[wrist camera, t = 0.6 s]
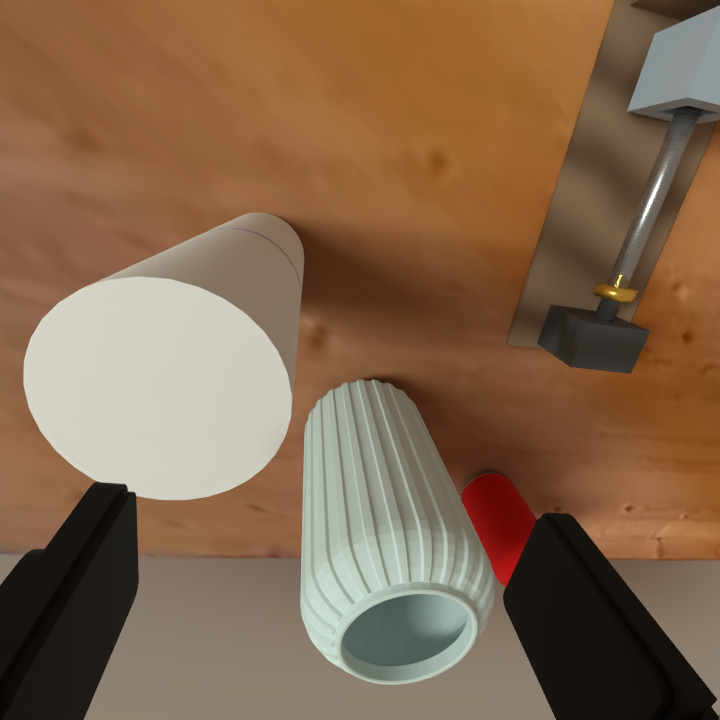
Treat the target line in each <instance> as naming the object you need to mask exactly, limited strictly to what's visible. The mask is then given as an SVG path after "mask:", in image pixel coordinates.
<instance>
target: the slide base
mask: <svg viewBox="0 0 720 720" xmlns="http://www.w3.org/2000/svg"><path fill="white" fill-rule="evenodd" d="M719 1H720V0H615V2H614V5H613V8H612V11H611V15H610V18H609V21H608V24H607V27H606V30H605V33H604V37H603V40H602V43H601V46H600V49H599V52H598V55H597V59H596V62H595V65H594V68H593V71H592V74H591V77H590V81H589V84H588V87H587V90H586V93H585V96H584V99H583V103H582V106H581V109H580V112H579V115H578V118H577V121H576V125H575V128H574V131H573V134H572V137H571V140H570V143H569V147H568V150H567V153H566V156H565V159H564V162H563V165H562V169H561V172H560V175H559V178H558V181H557V184H556V187H555V191H554V194H553V197H552V200H551V203H550V206H549V209H548V213H547V216H546V219H545V222H544V225H543V228H542V231H541V235H540V238H539V241H538V244H537V247H536V250H535V253H534V257H533V260H532V263H531V266H530V269H529V272H528V275H527V278H526V282H525V285H524V288H523V291H522V294H521V297H520V300H519V304H518V307H517V310H516V313H515V316H514V319H513V322H512V326H511V329H510V332H509V335H508V338H507V341H506V344H507V345H513V346H522V347H530V348H538V349H546V350H547V351H548V352H550V353H551V354H553V355H554V356H556V357H557V358H558V359H560V360H561V361H563V362H564V363H566V364H567V365H568V366H570V367H577V368H586V369H594V370H603V371H612V372H621V373H630V374H631V372H632V370H633V368H634V365H635V363H636V361H637V359H638V357H639V354H640V352H641V350H642V348H643V346H644V344H645V341H646V339H647V337H648V335H649V333H650V331H648V330H646V329H644V328H641V327H639V326H637V325H635V324H632V323H630V322H631V320H632V317H633V315H634V313H635V310H636V308H637V306H638V303H639V301H640V299H641V297H642V294H643V292H644V290H645V287H646V285H647V283H648V280H649V278H650V276H651V273H652V271H653V269H654V267H655V264H656V262H657V260H658V257H659V255H660V253H661V250H662V248H663V246H664V244H665V241H666V239H667V237H668V234H669V232H670V230H671V227H672V225H673V223H674V220H675V218H676V216H677V214H678V211H679V209H680V207H681V204H682V202H683V200H684V197H685V195H686V193H687V191H688V188H689V186H690V184H691V181H692V179H693V177H694V174H695V172H696V170H697V167H698V165H699V163H700V161H701V158H702V156H703V154H704V151H705V149H706V147H707V144H708V142H709V140H710V138H711V135H712V133H713V131H714V128H715V126H716V124H717V121H712V122H706V123H700V124H696V126H695V128H694V131H693V133H692V136H691V138H690V140H689V143H688V145H687V148H686V150H685V152H684V155H683V157H682V160H681V162H680V164H679V167H678V169H677V172H676V174H675V176H674V179H673V181H672V184H671V186H670V188H669V191H668V193H667V196H666V198H665V200H664V203H663V205H662V207H661V210H660V212H659V215H658V217H657V219H656V222H655V224H654V227H653V229H652V231H651V234H650V236H649V239H648V241H647V243H646V246H645V248H644V251H643V253H642V255H641V258H640V260H639V263H638V265H637V267H636V270H635V272H634V275H633V277H632V279H631V282H630V284H629V287H628V288H632V289H635V290H637V291H638V293H637V296H636V298H635V300H634V303H624V302H622V303H621V306H620V308H619V310H618V313H617V315H616V318H615V320H614V322H613V323H609V322H604V321H600V320H597V319H595V318H594V315H595V312H596V310H597V307H598V305H599V302H600V300H601V297H599V296H596V295H594V294H592V292H593V290H594V287H595V285H596V282H606V283H607V282H608V280H609V277H610V275H611V272H612V269H613V267H614V264H615V262H616V259H617V257H618V254H619V252H620V249H621V247H622V244H623V242H624V239H625V237H626V234H627V232H628V229H629V227H630V224H631V221H632V219H633V216H634V214H635V211H636V209H637V206H638V204H639V201H640V199H641V196H642V194H643V191H644V189H645V186H646V184H647V181H648V179H649V176H650V174H651V171H652V168H653V166H654V163H655V161H656V158H657V156H658V153H659V151H660V148H661V146H662V143H663V141H664V138H665V136H666V133H667V131H668V128H669V126H670V123H671V121H667V120H663V119H658V118H654V117H650V116H646V115H641V114H637V113H633V112H628V111H627V110H628V107H629V105H630V102H631V99H632V96H633V93H634V91H635V88H636V85H637V82H638V79H639V77H640V74H641V71H642V68H643V65H644V63H645V60H646V57H647V54H648V51H649V49H650V46H651V43H652V40H653V37H654V35H655V33H658V32H660V31H662V30H665V29H667V28H669V27H671V26H674V25H676V24H678V23H681V22H683V21H685V20H687V19H690V18H692V17H694V16H697V15H699V14H701V13H703V12H706V11H708V10H710V9H713V8H715V7H717V4H718V2H719Z"/></svg>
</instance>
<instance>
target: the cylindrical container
mask: <svg viewBox="0 0 720 720" xmlns="http://www.w3.org/2000/svg"><path fill="white" fill-rule="evenodd" d="M303 272H304V250H303V246H302V243H301V241H300V238H299V237H298V235H297V233H296V232H295V231H294V230H293V228H292V227H291V226H290V225H289V224H287V223H286V222H285V221H284V220H282V219H280V218H278V217H277V216H274V215H271V214H268V213H259V212H258V213H249V214H246V215H243V216H240V217H238V218H236V219H234V220H231V221H229V222H227V223H225V224H223V225H220V226H218V227H216V228H214V229H212V230H209V231H207V232H205V233H203V234H201V235H198V236H196V237H194V238H192V239H190V240H188V241H185V242H183V243H181V244H179V245H177V246H174V247H172V248H170V249H168V250H166V251H164V252H161V253H159V254H157V255H155V256H153V257H150V258H148V259H146V260H144V261H142V262H139V263H137V264H135V265H133V266H131V267H128V268H126V269H124V270H122V271H120V272H117V273H115V274H113V275H111V276H109V277H106V278H104V279H102V280H100V281H98V282H95V283H93V284H91V285H89V286H86V287H84V288H82V289H80V290H79V291H77V292H75V293H74V294H72V295H70V296H69V297H67V298H66V299H64V300H62V301H61V302H59V303H58V304H57V305H56V306H55V307H54V308H53V309H52V310H51V311H50V312H49V313H48V314H47V315H46V316H45V317H44V318H43V319H42V320H41V322H40V324H39V325H38V327H37V329H36V330H35V332H34V334H33V335H32V337H31V339H30V342H29V345H28V349H27V352H26V356H25V359H24V388H25V393H26V397H27V401H28V405H29V409H30V411H31V413H32V415H33V417H34V419H35V421H36V423H37V425H38V427H39V429H40V431H41V432H42V433H43V435H44V436H45V437H46V439H47V440H48V441H49V442H50V444H51V445H52V446H53V448H54V449H55V450H56V451H57V452H58V453H59V454H60V455H61V456H63V457H64V458H65V459H66V460H67V461H68V462H69V463H70V464H71V465H73V466H74V467H75V468H77V469H78V470H80V471H81V472H83V473H84V474H86V475H87V476H89V477H90V478H92V479H94V480H96V481H98V482H103V483H118V484H126V485H127V488H128V492H135V493H136V496H140V497H146V498H152V499H159V500H189V499H196V498H202V497H209V496H212V495H215V494H218V493H221V492H224V491H227V490H230V489H232V488H234V487H236V486H238V485H240V484H242V483H244V482H245V481H247V480H249V479H250V478H251V477H253V476H254V475H255V474H257V473H258V472H259V471H260V470H262V469H263V468H264V467H265V466H266V465H267V463H268V462H269V461H270V460H271V459H272V458H273V457H274V455H275V454H276V452H277V451H278V449H279V447H280V445H281V444H282V442H283V440H284V438H285V436H286V432H287V429H288V426H289V422H290V419H291V410H292V399H293V388H294V376H295V365H296V354H297V343H298V331H299V319H300V306H301V295H302V284H303Z"/></svg>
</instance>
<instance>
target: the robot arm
mask: <svg viewBox="0 0 720 720" xmlns="http://www.w3.org/2000/svg"><path fill="white" fill-rule="evenodd" d="M138 581H139V575H138V541H137V508H136V493H135V492H128V488H127V485H126V484H118V483H103V482H95V483H93V484H92V485H91V487H90V488H89V489H88V490H87V492H86V493H85V495H84V496H83V497H82V499H81V500H80V501H79V503H78V504H77V506H76V507H75V508H74V510H73V511H72V512H71V514H70V515H69V517H68V518H67V519H66V521H65V522H64V523H63V525H62V526H61V528H60V529H59V530H58V532H57V533H56V534H55V536H54V537H53V539H52V540H51V541H50V543H49V544H48V545H47V547H46V548H45V549H34V550H31V551H30V552H28V553H27V554H25V555H24V557H23V558H22V559H21V560H20V561H19V562H18V563H17V565H16V566H15V567H14V568H13V570H12V571H11V572H10V574H9V575H8V576H7V577H6V579H5V580H4V581H3V583H2V584H1V585H0V720H84V717H85V715H86V713H87V710H88V708H89V706H90V703H91V701H92V698H93V696H94V694H95V691H96V689H97V686H98V684H99V682H100V679H101V677H102V675H103V672H104V670H105V668H106V665H107V663H108V661H109V658H110V656H111V654H112V651H113V649H114V647H115V644H116V642H117V640H118V637H119V635H120V633H121V630H122V628H123V625H124V623H125V621H126V618H127V616H128V614H129V611H130V609H131V606H132V604H133V602H134V599H135V596H136V593H137V589H138V583H139V582H138ZM503 600H504V606H505V609H506V611H507V613H508V615H509V617H510V620H511V622H512V624H513V626H514V629H515V631H516V633H517V635H518V637H519V640H520V642H521V644H522V646H523V648H524V650H525V653H526V655H527V657H528V659H529V661H530V663H531V666H532V668H533V670H534V672H535V675H536V676H537V679H538V681H539V683H540V685H541V687H542V690H543V692H544V694H545V696H546V699H547V701H548V703H549V705H550V707H551V709H552V712H553V714H554V716H555V718H556V720H720V715H719V716H718V715H717V714H716V712H715V711H714V710H713V708H712V707H711V706H712V705H713V704H714V703H715V702H716V700H717V699H716V697H715V696H714V695H713V693H711V691H710V690H709V688H708V687H707V686H706V684H705V683H704V682H703V681H702V679H701V678H700V677H699V676H698V674H697V673H696V672H695V671H694V669H693V668H692V667H691V665H690V664H689V663H688V662H687V661H686V659H685V658H684V657H683V655H682V654H681V653H680V651H679V650H678V649H677V648H676V646H675V645H674V644H673V643H672V641H671V640H670V639H669V637H668V636H667V635H666V634H665V632H664V631H663V630H662V629H661V627H660V626H659V625H658V624H657V622H656V621H655V620H654V618H653V617H652V616H651V615H650V613H649V612H648V611H647V610H646V608H645V607H644V606H643V604H642V603H641V602H640V601H639V600H638V599H637V597H636V596H635V594H634V593H633V592H632V591H631V589H630V588H629V587H628V586H627V584H626V583H625V582H624V580H623V579H622V578H621V577H620V575H619V574H618V573H617V572H616V570H615V569H614V568H613V566H612V565H611V564H610V563H609V561H608V560H607V559H606V557H605V556H604V555H603V554H602V552H601V551H600V550H599V549H598V547H597V546H596V545H595V544H594V542H593V541H592V540H591V538H590V537H589V536H588V535H587V533H586V532H585V531H584V530H583V528H582V527H581V526H580V524H579V523H578V522H577V521H576V519H575V518H574V517H573V516H571V515H569V514H561V513H545V514H543V515H542V517H541V518H539V519H538V520H537V521H536V522H535V525H534V527H533V529H532V531H531V533H530V536H529V538H528V540H527V542H526V544H525V547H524V549H523V551H522V553H521V555H520V558H519V560H518V562H517V564H516V566H515V569H514V571H513V573H512V575H511V577H510V580H509V582H508V584H507V586H506V588H505V591H504V595H503Z"/></svg>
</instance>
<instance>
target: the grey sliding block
mask: <svg viewBox="0 0 720 720" xmlns="http://www.w3.org/2000/svg"><path fill="white" fill-rule="evenodd" d="M687 105H688V106H692V107H696V108H700V109H702V112H701V114H700V116H699V119H698V121H697V124H700V123H706V122H712V121H719V120H720V5H719V6H717V7H715V8H713V9H710V10H708V11H706V12H703V13H701V14H699V15H697V16H694V17H692V18H690V19H687V20H685V21H683V22H681V23H678V24H676V25H674V26H671V27H669V28H667V29H665V30H662V31H660V32H658V33H655V35H654V37H653V40H652V43H651V46H650V49H649V51H648V54H647V57H646V60H645V63H644V65H643V68H642V71H641V74H640V77H639V79H638V82H637V85H636V88H635V91H634V93H633V96H632V99H631V102H630V105H629V107H628V110H627V111H628V112H633V113H637V114H641V115H646V116H650V117H654V118H658V119H663V120H667V121H671V120H672V118H673V115H674V113H675V110H676V108H678V107H682V106H687Z"/></svg>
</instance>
